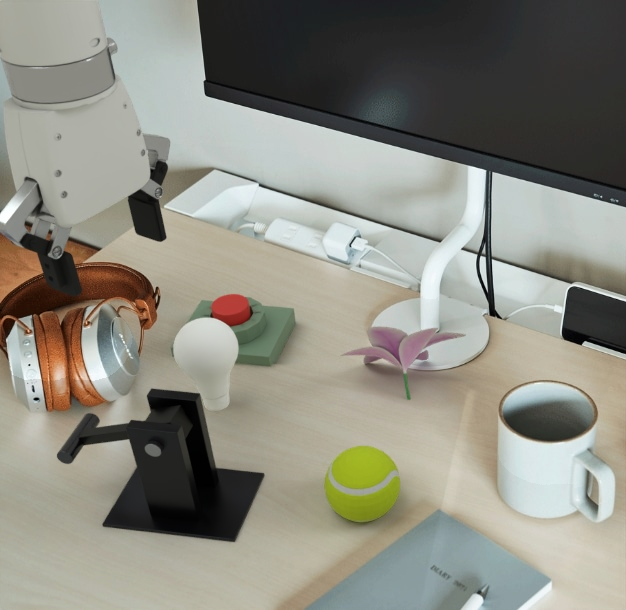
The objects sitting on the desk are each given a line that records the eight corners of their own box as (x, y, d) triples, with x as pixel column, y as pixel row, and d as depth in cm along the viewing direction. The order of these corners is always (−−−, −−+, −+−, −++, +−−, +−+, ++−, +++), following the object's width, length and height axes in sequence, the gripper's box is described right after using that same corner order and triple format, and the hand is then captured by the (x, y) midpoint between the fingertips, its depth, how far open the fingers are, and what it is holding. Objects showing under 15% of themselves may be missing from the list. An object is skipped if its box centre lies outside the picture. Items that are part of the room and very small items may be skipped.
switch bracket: (104, 533, 81) (72, 435, 74) (143, 468, 88) (117, 372, 81) (236, 548, 80) (215, 451, 73) (265, 481, 87) (249, 386, 80)
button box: (173, 363, 101) (167, 334, 98) (204, 315, 108) (199, 286, 106) (271, 372, 100) (266, 343, 97) (295, 323, 107) (292, 295, 104)
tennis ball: (379, 548, 80) (375, 494, 76) (313, 523, 82) (306, 470, 79) (414, 495, 85) (412, 442, 82) (351, 474, 87) (346, 421, 84)
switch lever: (64, 469, 79) (50, 449, 78) (92, 429, 83) (78, 409, 82) (176, 454, 76) (163, 433, 75) (199, 414, 80) (187, 393, 79)
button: (208, 326, 100) (205, 313, 99) (221, 305, 103) (218, 292, 102) (243, 329, 100) (241, 316, 99) (255, 308, 103) (253, 295, 102)
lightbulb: (176, 424, 93) (155, 337, 86) (205, 385, 98) (187, 301, 91) (232, 434, 92) (215, 347, 85) (258, 395, 96) (244, 310, 90)
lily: (482, 383, 100) (465, 297, 99) (445, 415, 89) (427, 319, 88) (382, 394, 104) (365, 311, 103) (335, 426, 93) (316, 334, 92)
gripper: (111, 30, 77) (150, 209, 87) (-75, 102, 65) (-4, 301, 75) (179, 46, 75) (212, 228, 84) (-2, 125, 62) (62, 328, 72)
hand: (110, 262), depth 80 cm, fingers open, 9 cm apart
